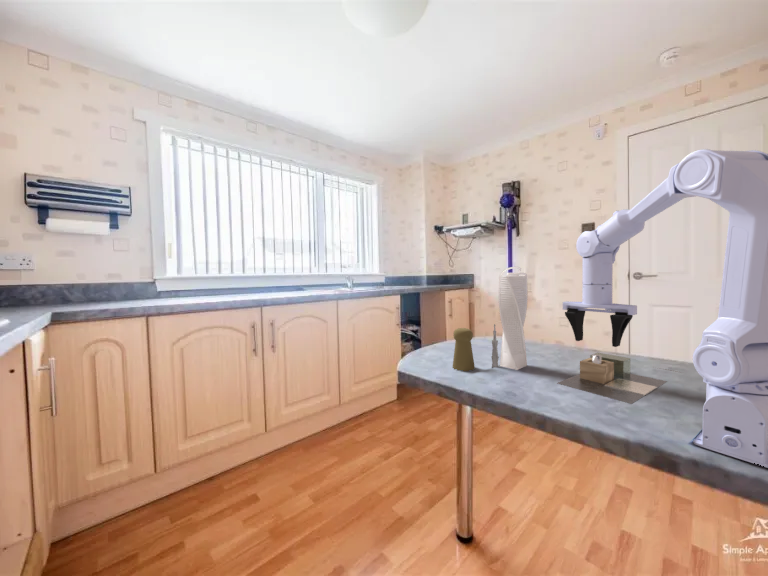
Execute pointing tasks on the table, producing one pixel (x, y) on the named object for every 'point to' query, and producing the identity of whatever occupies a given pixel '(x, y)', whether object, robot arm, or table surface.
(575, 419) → the table surface
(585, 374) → the wooden box
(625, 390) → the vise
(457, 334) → the cork
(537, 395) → the table surface
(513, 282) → the skyscraper
